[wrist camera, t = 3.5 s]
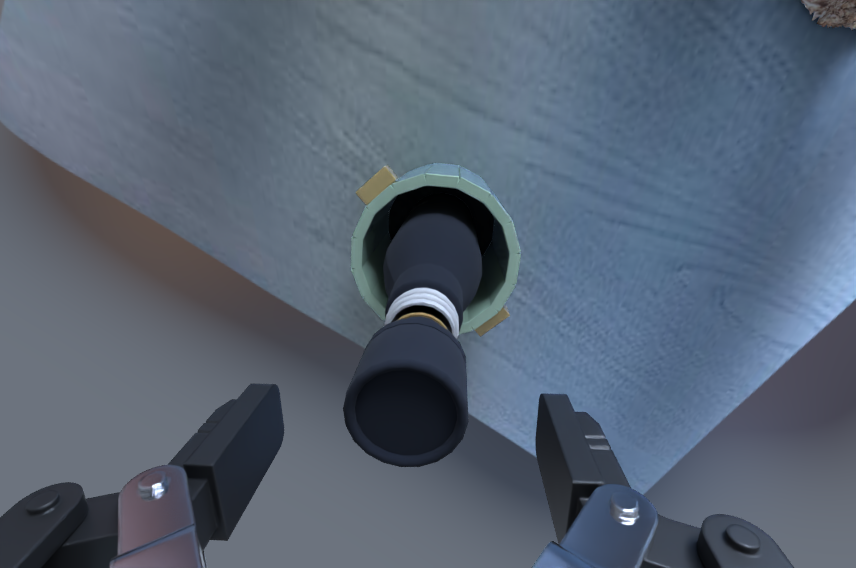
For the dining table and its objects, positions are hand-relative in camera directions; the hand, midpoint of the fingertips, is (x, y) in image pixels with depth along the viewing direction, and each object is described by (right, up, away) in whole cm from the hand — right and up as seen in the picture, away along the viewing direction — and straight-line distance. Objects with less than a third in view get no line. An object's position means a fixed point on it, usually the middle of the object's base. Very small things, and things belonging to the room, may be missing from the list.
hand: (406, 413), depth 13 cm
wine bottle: (+2, +10, +28) cm, 30 cm away
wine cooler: (+2, +9, +28) cm, 30 cm away
